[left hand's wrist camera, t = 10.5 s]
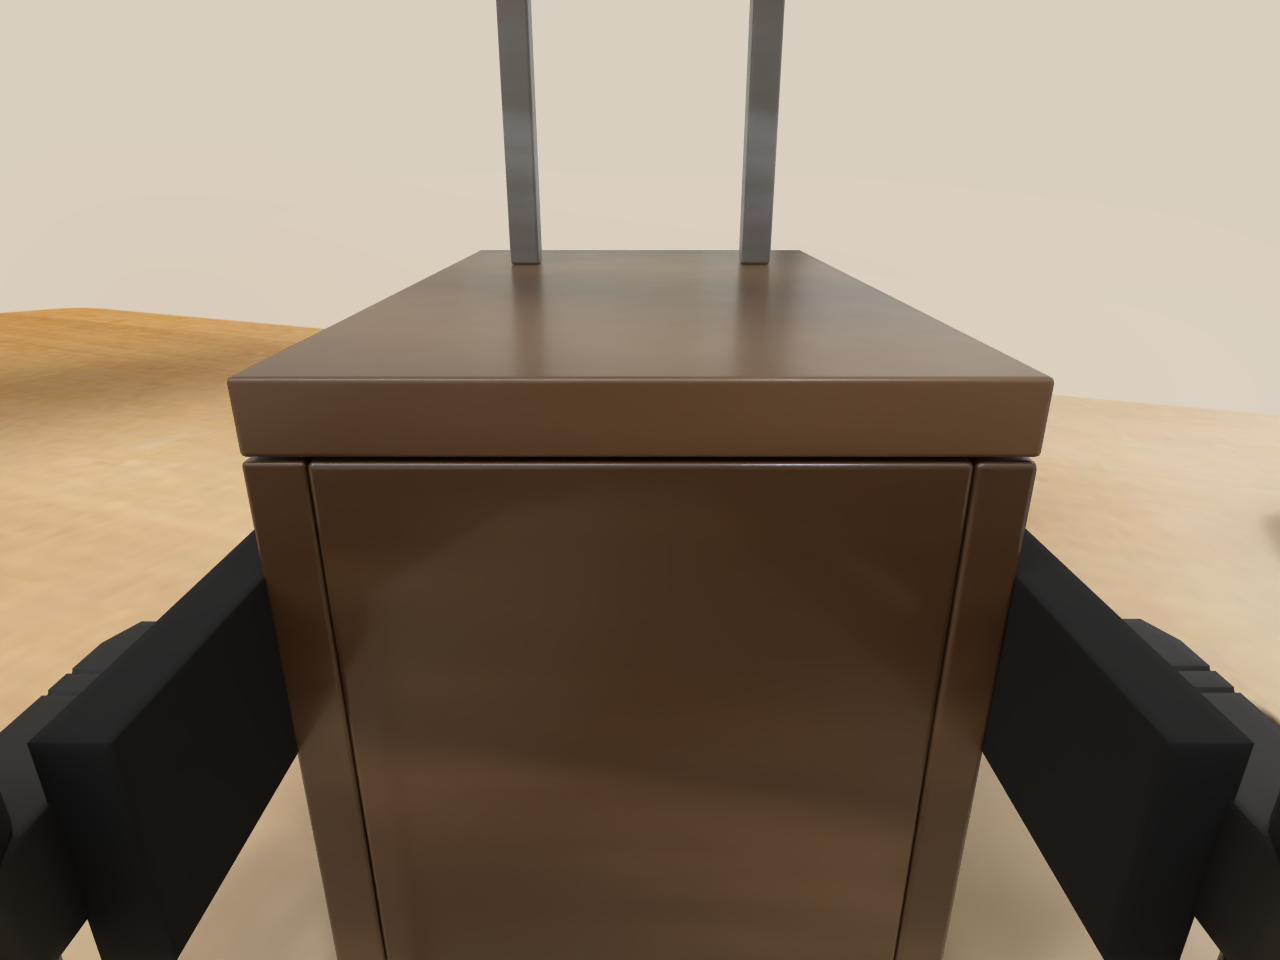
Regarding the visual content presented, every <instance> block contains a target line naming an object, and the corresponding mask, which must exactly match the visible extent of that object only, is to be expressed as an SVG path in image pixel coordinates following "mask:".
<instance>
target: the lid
mask: <svg viewBox="0 0 1280 960" xmlns="http://www.w3.org/2000/svg"><path fill="white" fill-rule="evenodd" d="M784 4H785V0H750V17H749V40H748V63H747V85H746V108H745V131H744V154H743V177H742V200H741V223H740V246H739V250H542V249H541V226H540V202H539V180H538V156H537V134H536V110H535V87H534V63H533V40H532V17H531V0H496V5H497V23H498V41H499V59H500V76H501V94H502V111H503V129H504V146H505V164H506V182H507V199H508V217H509V234H510V250H481V251H479V252H477V253H475V254H473V255H471V256H469V257H467V258H465V259H463V260H461V261H459V262H457V263H455V264H453V265H451V266H449V267H447V268H445V269H443V270H441V271H439V272H437V273H436V274H433V275H431V276H429V277H428V278H426V279H424V280H422V281H420V282H418V283H416V284H414V285H412V286H410V287H408V288H406V289H404V290H402V291H400V292H398V293H396V294H394V295H392V296H390V297H388V298H386V299H384V300H382V301H380V302H378V303H376V304H374V305H372V306H370V307H368V308H366V309H364V310H362V311H360V312H358V313H356V314H354V315H352V316H350V317H348V318H346V319H344V320H342V321H340V322H338V323H337V324H335V325H333V326H331V327H329V328H327V329H325V330H323V331H321V332H319V333H317V334H315V335H313V336H311V337H309V338H307V339H305V340H303V341H301V342H299V343H297V344H295V345H293V346H291V347H289V348H287V349H285V350H283V351H281V352H279V353H277V354H275V355H273V356H271V357H269V358H267V359H265V360H263V361H261V362H259V363H257V364H255V365H253V366H251V367H249V368H247V369H246V370H244V371H242V372H240V373H238V374H236V375H234V376H232V377H230V378H228V382H227V385H228V390H229V395H230V400H231V405H232V411H233V416H234V421H235V426H236V431H237V437H238V442H239V447H240V452H241V454H242V456H246V457H1036V456H1039V454H1040V453H1041V448H1042V443H1043V438H1044V433H1045V427H1046V422H1047V417H1048V412H1049V407H1050V401H1051V396H1052V391H1053V386H1054V381H1053V378H1051V377H1049V376H1047V375H1045V374H1043V373H1041V372H1039V371H1037V370H1035V369H1033V368H1031V367H1030V366H1027V365H1026V364H1024V363H1022V362H1020V361H1018V360H1016V359H1014V358H1012V357H1010V356H1008V355H1006V354H1004V353H1002V352H1000V351H998V350H996V349H994V348H992V347H990V346H988V345H986V344H984V343H982V342H980V341H978V340H976V339H974V338H972V337H970V336H968V335H966V334H964V333H962V332H960V331H958V330H956V329H954V328H952V327H950V326H948V325H946V324H944V323H942V322H940V321H938V320H936V319H934V318H932V317H931V316H929V315H926V314H925V313H923V312H921V311H919V310H917V309H915V308H913V307H911V306H909V305H907V304H905V303H903V302H901V301H899V300H897V299H895V298H893V297H891V296H889V295H887V294H885V293H883V292H881V291H879V290H877V289H875V288H873V287H871V286H869V285H867V284H865V283H863V282H861V281H859V280H857V279H855V278H853V277H851V276H849V275H847V274H845V273H843V272H841V271H839V270H837V269H835V268H834V267H832V266H830V265H828V264H826V263H824V262H822V261H820V260H818V259H816V258H814V257H812V256H810V255H808V254H806V253H804V252H802V251H800V250H770V249H771V231H772V214H773V196H774V179H775V161H776V144H777V126H778V109H779V91H780V74H781V56H782V39H783V21H784Z"/></svg>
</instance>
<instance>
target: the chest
mask: <svg viewBox="0 0 1280 960" xmlns="http://www.w3.org/2000/svg"><path fill="white" fill-rule="evenodd" d="M1036 470H1037V469H1036V464H1035V462H1034V461H1032V460H1031V459H1030V458H1028V457H250V458H249V459H248V460H246V461H245V462H243V472H244V477H245V482H246V487H247V492H248V498H249V503H250V508H251V513H252V518H253V524H254V529H255V534H256V539H257V544H258V550H259V555H260V560H261V565H262V570H263V576H264V578H265V583H266V588H267V593H268V598H269V604H270V609H271V614H272V619H273V624H274V630H275V635H276V640H277V645H278V650H279V656H280V661H281V666H282V671H283V676H284V682H285V687H286V692H287V697H288V702H289V708H290V713H291V718H292V723H293V728H294V734H295V739H296V744H297V749H298V757H299V762H300V767H301V773H302V778H303V783H304V788H305V793H306V799H307V804H308V809H309V814H310V819H311V825H312V830H313V835H314V840H315V845H316V850H317V856H318V861H319V866H320V871H321V876H322V882H323V887H324V892H325V897H326V902H327V908H328V913H329V918H330V923H331V928H332V934H333V939H334V944H335V949H336V954H337V959H338V960H942V958H943V953H944V947H945V942H946V937H947V932H948V927H949V921H950V916H951V911H952V906H953V901H954V895H955V890H956V885H957V880H958V875H959V869H960V864H961V859H962V854H963V849H964V844H965V838H966V833H967V828H968V823H969V818H970V812H971V807H972V802H973V797H974V792H975V786H976V781H977V776H978V771H979V766H980V760H981V755H982V750H983V745H984V740H985V734H986V729H987V724H988V719H989V714H990V709H991V703H992V698H993V693H994V688H995V683H996V677H997V672H998V667H999V662H1000V657H1001V651H1002V646H1003V641H1004V636H1005V631H1006V625H1007V620H1008V615H1009V610H1010V605H1011V600H1012V594H1013V589H1014V584H1015V579H1016V574H1017V568H1018V563H1019V558H1020V553H1021V548H1022V542H1023V537H1024V532H1025V527H1026V522H1027V516H1028V511H1029V506H1030V501H1031V496H1032V491H1033V485H1034V480H1035V475H1036Z"/></svg>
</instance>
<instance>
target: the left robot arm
mask: <svg viewBox="0 0 1280 960" xmlns="http://www.w3.org/2000/svg"><path fill="white" fill-rule="evenodd" d="M1209 667H1210V666H1209V665H1208V664H1207V663H1206V662H1204V661H1203V660H1202V659H1201V658H1200V657H1199V656H1198V655H1196V654H1195V653H1194V652H1193V651H1192V650H1191V649H1190V648H1188V647H1187V646H1186V645H1185V644H1184V643H1183V642H1182V641H1180V640H1179V639H1177V638H1175V637H1173V636H1171V635H1169V634H1167V633H1165V632H1164V631H1162V630H1160V629H1158V628H1156V627H1154V626H1152V625H1151V624H1149V623H1147V622H1145V621H1143V620H1141V619H1121V618H1120V617H1119V616H1118V615H1117V614H1116V613H1115V612H1114V611H1113V610H1112V609H1111V608H1110V607H1109V606H1107V605H1106V604H1105V603H1104V602H1103V601H1102V600H1101V599H1100V598H1099V597H1098V596H1097V595H1096V594H1095V593H1094V592H1093V591H1091V590H1090V589H1089V588H1088V587H1087V586H1086V585H1085V584H1084V583H1083V582H1082V581H1081V580H1080V579H1079V578H1078V577H1077V576H1075V575H1074V574H1073V573H1072V572H1071V571H1070V570H1069V569H1068V568H1067V567H1066V566H1065V565H1064V564H1063V563H1062V562H1061V561H1059V560H1058V559H1057V558H1056V557H1055V556H1054V555H1053V554H1052V553H1051V552H1050V551H1049V550H1048V549H1047V548H1046V547H1045V546H1043V545H1042V544H1041V543H1040V542H1039V541H1038V540H1037V539H1036V538H1035V537H1034V536H1033V535H1032V534H1031V533H1030V532H1029V531H1027V530H1026V529H1025V532H1024V537H1023V542H1022V548H1021V553H1020V558H1019V563H1018V568H1017V574H1016V579H1015V584H1014V589H1013V594H1012V600H1011V605H1010V610H1009V615H1008V620H1007V625H1006V631H1005V636H1004V641H1003V646H1002V651H1001V657H1000V662H999V667H998V672H997V677H996V683H995V688H994V693H993V698H992V703H991V709H990V714H989V719H988V724H987V729H986V734H985V740H984V745H983V750H982V752H983V754H984V755H985V757H986V759H987V761H988V762H989V764H990V766H991V767H992V769H993V771H994V772H995V774H996V776H997V778H998V779H999V781H1000V783H1001V784H1002V786H1003V788H1004V790H1005V791H1006V793H1007V795H1008V796H1009V798H1010V800H1011V802H1012V803H1013V805H1014V807H1015V808H1016V810H1017V812H1018V814H1019V815H1020V817H1021V819H1022V820H1023V822H1024V824H1025V826H1026V827H1027V829H1028V831H1029V832H1030V834H1031V836H1032V837H1033V839H1034V841H1035V843H1036V844H1037V846H1038V848H1039V849H1040V851H1041V853H1042V855H1043V856H1044V858H1045V860H1046V861H1047V863H1048V865H1049V867H1050V868H1051V870H1052V872H1053V873H1054V875H1055V877H1056V879H1057V880H1058V882H1059V884H1060V885H1061V887H1062V889H1063V891H1064V892H1065V894H1066V896H1067V897H1068V899H1069V901H1070V902H1071V904H1072V906H1073V908H1074V909H1075V911H1076V913H1077V914H1078V916H1079V918H1080V920H1081V921H1082V923H1083V925H1084V926H1085V928H1086V930H1087V932H1088V933H1089V935H1090V937H1091V938H1092V940H1093V942H1094V944H1095V945H1096V947H1097V949H1098V950H1099V952H1100V954H1101V956H1102V957H1103V959H1104V960H1180V957H1181V954H1182V951H1183V948H1184V946H1185V943H1186V940H1187V937H1188V934H1189V931H1190V928H1191V925H1192V922H1193V920H1194V917H1196V919H1197V920H1198V921H1199V923H1200V924H1201V925H1202V927H1203V928H1204V929H1205V931H1206V932H1207V933H1208V935H1209V936H1210V938H1211V939H1212V940H1213V942H1214V943H1215V944H1216V946H1217V947H1218V948H1219V950H1220V954H1219V956H1218V959H1217V960H1280V727H1279V726H1278V725H1276V724H1275V723H1274V722H1273V721H1272V720H1271V719H1270V718H1268V717H1267V716H1266V715H1265V714H1264V713H1263V712H1262V711H1260V710H1259V709H1258V708H1257V707H1256V706H1255V705H1254V704H1252V703H1251V702H1250V701H1249V700H1248V699H1247V698H1246V697H1244V696H1243V695H1242V694H1241V693H1235V692H1234V687H1233V686H1232V685H1231V684H1230V683H1228V682H1227V681H1226V680H1225V679H1224V678H1223V677H1222V676H1220V675H1219V674H1218V673H1217V672H1216V671H1210V668H1209ZM297 754H298V749H297V744H296V739H295V734H294V728H293V723H292V718H291V713H290V708H289V702H288V697H287V692H286V687H285V682H284V676H283V671H282V666H281V661H280V656H279V650H278V645H277V640H276V635H275V630H274V624H273V619H272V614H271V609H270V604H269V598H268V593H267V588H266V583H265V578H264V576H263V570H262V565H261V560H260V555H259V550H258V544H257V539H256V534H255V530H253V531H252V532H251V533H250V534H249V535H248V536H247V537H246V538H245V539H244V540H243V541H242V542H241V543H240V544H239V545H238V546H236V547H235V548H234V549H233V550H232V551H231V552H230V553H229V554H228V555H227V556H226V557H225V558H224V559H223V560H222V561H220V562H219V563H218V564H217V565H216V566H215V567H214V568H213V569H212V570H211V571H210V572H209V573H208V574H207V575H206V576H204V577H203V578H202V579H201V580H200V581H199V582H198V583H197V584H196V585H195V586H194V587H193V588H192V589H191V590H190V591H188V592H187V593H186V594H185V595H184V596H183V597H182V598H181V599H180V600H179V601H178V602H177V603H176V604H175V605H174V606H172V607H171V608H170V609H169V610H168V611H167V612H166V613H165V614H164V615H163V616H162V617H161V618H160V619H159V620H158V621H156V622H140V623H138V624H136V625H134V626H132V627H131V628H129V629H127V630H125V631H123V632H121V633H119V634H118V635H116V636H114V637H112V638H110V639H108V640H106V641H105V642H103V643H101V644H100V645H99V646H98V647H97V648H95V649H94V650H93V651H92V652H91V653H90V654H89V655H87V656H86V657H85V658H84V659H83V660H82V661H81V662H80V663H78V664H77V665H76V666H75V667H74V668H73V671H72V674H66V675H65V676H64V677H63V678H61V679H60V680H59V681H58V682H57V683H56V684H55V685H53V686H52V687H51V688H50V689H49V690H48V695H47V696H41V697H40V698H39V699H38V700H36V701H35V702H34V703H33V704H32V705H31V706H30V707H29V708H27V709H26V710H25V711H24V712H23V713H22V714H21V715H20V716H18V717H17V718H16V719H15V720H14V721H13V722H12V723H10V724H9V725H8V726H7V727H6V728H5V729H4V730H3V731H1V732H0V960H63V959H62V956H61V954H62V953H63V952H64V950H65V949H66V947H67V946H68V945H69V943H70V942H71V941H72V939H73V938H74V937H75V935H76V934H77V933H78V931H79V930H80V928H81V927H82V926H83V924H84V923H85V922H86V920H87V919H88V922H89V925H90V928H91V931H92V933H93V936H94V939H95V942H96V945H97V948H98V951H99V954H100V957H101V960H177V959H178V957H179V955H180V954H181V952H182V950H183V949H184V947H185V945H186V943H187V942H188V940H189V938H190V937H191V935H192V933H193V931H194V930H195V928H196V926H197V925H198V923H199V921H200V919H201V918H202V916H203V914H204V913H205V911H206V909H207V908H208V906H209V904H210V902H211V901H212V899H213V897H214V896H215V894H216V892H217V890H218V889H219V887H220V885H221V884H222V882H223V880H224V878H225V877H226V875H227V873H228V872H229V870H230V868H231V866H232V865H233V863H234V861H235V860H236V858H237V856H238V854H239V853H240V851H241V849H242V848H243V846H244V844H245V842H246V841H247V839H248V837H249V836H250V834H251V832H252V831H253V829H254V827H255V825H256V824H257V822H258V820H259V819H260V817H261V815H262V813H263V812H264V810H265V808H266V807H267V805H268V803H269V801H270V800H271V798H272V796H273V795H274V793H275V791H276V789H277V788H278V786H279V784H280V783H281V781H282V779H283V777H284V776H285V774H286V772H287V771H288V769H289V767H290V766H291V764H292V762H293V760H294V759H295V757H296V755H297Z"/></svg>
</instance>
